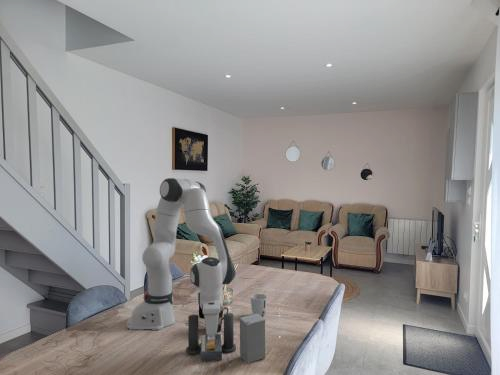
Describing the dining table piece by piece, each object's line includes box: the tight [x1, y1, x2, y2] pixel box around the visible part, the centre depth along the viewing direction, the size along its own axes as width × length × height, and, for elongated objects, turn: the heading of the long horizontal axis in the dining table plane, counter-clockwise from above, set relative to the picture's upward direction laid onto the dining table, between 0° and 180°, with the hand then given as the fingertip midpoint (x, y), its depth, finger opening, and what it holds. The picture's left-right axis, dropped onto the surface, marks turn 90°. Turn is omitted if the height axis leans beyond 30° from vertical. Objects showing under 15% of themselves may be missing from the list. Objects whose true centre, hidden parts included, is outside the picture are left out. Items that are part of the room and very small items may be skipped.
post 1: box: [185, 314, 201, 356], centre depth 135 cm, size 6×6×14 cm
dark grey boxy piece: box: [200, 333, 223, 363], centre depth 135 cm, size 8×14×4 cm, turn 7°
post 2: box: [221, 312, 237, 354], centre depth 136 cm, size 6×6×14 cm
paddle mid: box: [207, 336, 215, 343], centre depth 135 cm, size 3×2×2 cm
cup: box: [250, 293, 268, 318], centre depth 168 cm, size 8×8×10 cm
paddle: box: [206, 341, 215, 350], centre depth 131 cm, size 3×2×2 cm
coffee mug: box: [217, 305, 229, 334], centre depth 154 cm, size 12×9×10 cm
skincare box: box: [239, 313, 266, 364], centre depth 130 cm, size 8×7×16 cm
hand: (211, 336), depth 130 cm, fingers closed
